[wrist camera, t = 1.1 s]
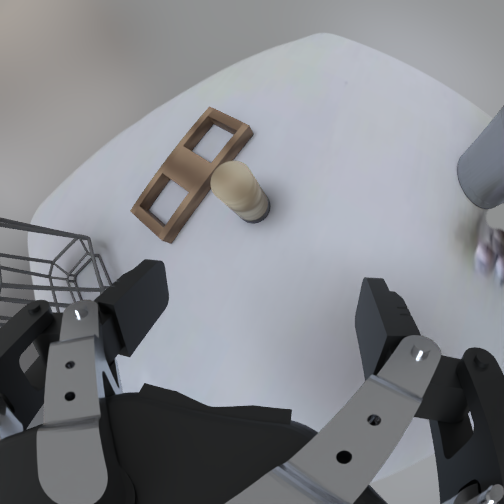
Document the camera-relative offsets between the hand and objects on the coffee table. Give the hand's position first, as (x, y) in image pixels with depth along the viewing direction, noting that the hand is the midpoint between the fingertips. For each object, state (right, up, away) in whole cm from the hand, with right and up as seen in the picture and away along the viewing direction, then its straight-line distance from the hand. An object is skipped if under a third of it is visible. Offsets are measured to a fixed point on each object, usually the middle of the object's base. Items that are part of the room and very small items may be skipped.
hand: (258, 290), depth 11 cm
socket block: (-9, +13, +30) cm, 34 cm away
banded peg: (0, +7, +27) cm, 28 cm away
